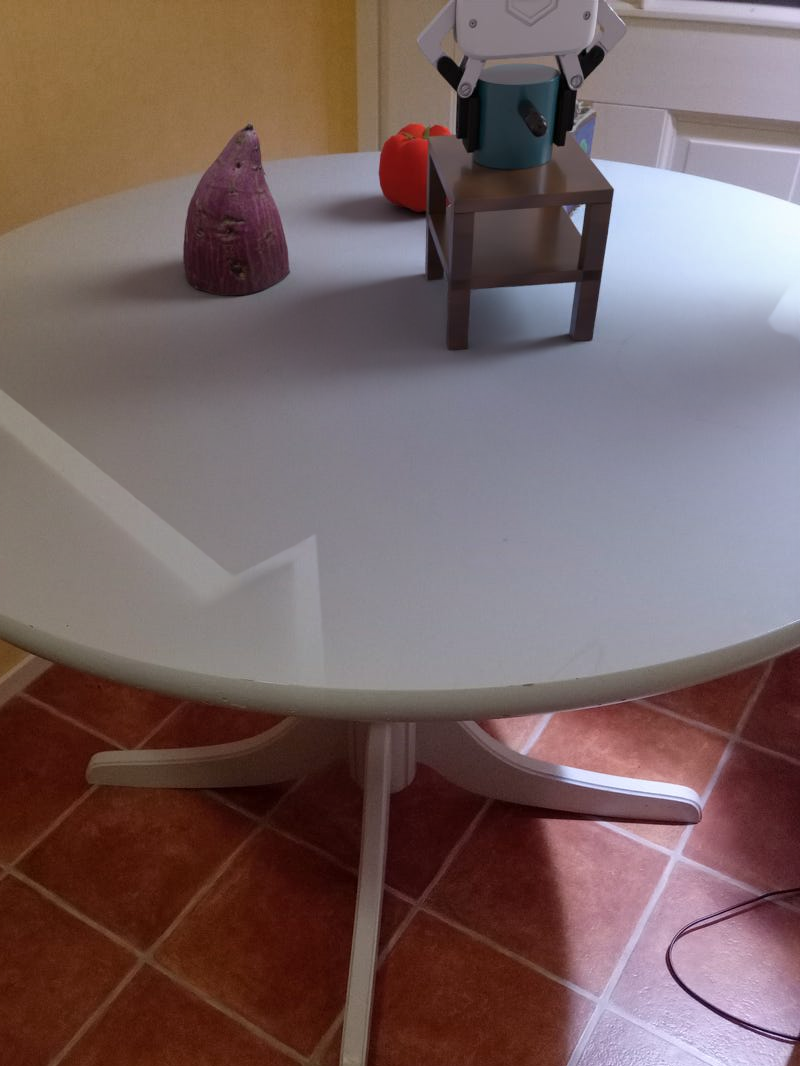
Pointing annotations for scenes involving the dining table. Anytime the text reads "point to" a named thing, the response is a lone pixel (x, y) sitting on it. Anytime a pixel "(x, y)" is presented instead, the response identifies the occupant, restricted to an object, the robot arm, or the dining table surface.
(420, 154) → the red capsicum
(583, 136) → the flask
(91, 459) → the dining table surface
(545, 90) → the saucepan
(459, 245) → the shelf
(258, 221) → the vegetable
